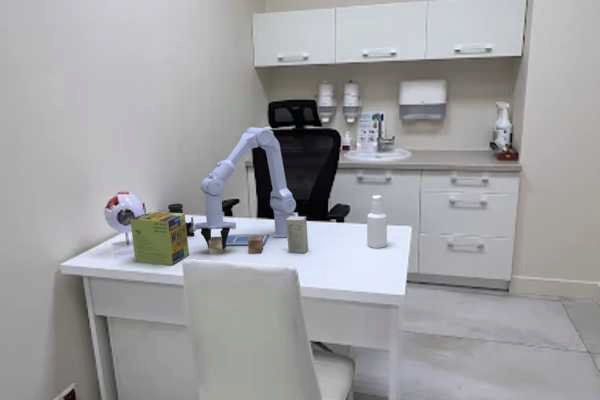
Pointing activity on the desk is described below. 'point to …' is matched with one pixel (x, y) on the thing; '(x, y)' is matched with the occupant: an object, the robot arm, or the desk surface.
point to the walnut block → (255, 244)
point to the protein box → (159, 237)
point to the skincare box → (297, 234)
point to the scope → (178, 209)
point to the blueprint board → (243, 239)
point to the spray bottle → (376, 224)
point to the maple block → (216, 245)
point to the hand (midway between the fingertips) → (217, 248)
